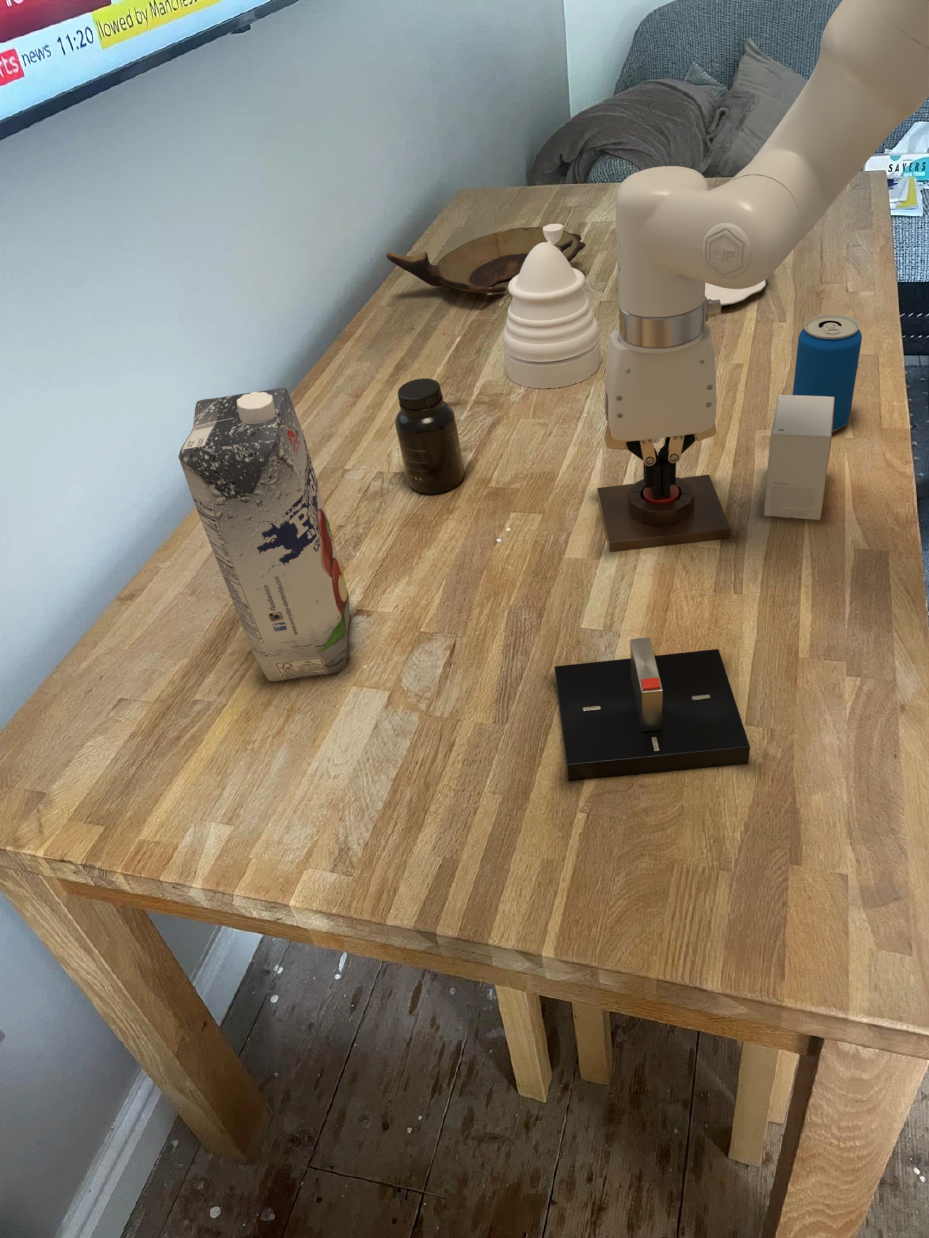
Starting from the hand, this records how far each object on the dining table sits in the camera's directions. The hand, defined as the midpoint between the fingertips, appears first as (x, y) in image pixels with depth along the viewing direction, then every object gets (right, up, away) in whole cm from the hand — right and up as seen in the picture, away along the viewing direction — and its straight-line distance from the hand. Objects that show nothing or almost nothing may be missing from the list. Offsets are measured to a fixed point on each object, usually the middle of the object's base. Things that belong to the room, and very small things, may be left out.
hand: (659, 490), depth 96 cm
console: (-5, -22, -18) cm, 29 cm away
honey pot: (-8, +21, +33) cm, 40 cm away
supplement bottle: (-23, +3, +15) cm, 28 cm away
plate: (+15, +36, +45) cm, 60 cm away
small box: (+15, -1, +2) cm, 15 cm away
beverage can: (+21, +9, +13) cm, 27 cm away
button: (0, -1, +1) cm, 2 cm away
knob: (-5, -20, -20) cm, 29 cm away
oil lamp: (-15, +42, +57) cm, 73 cm away
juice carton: (-35, -17, -5) cm, 39 cm away
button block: (+1, -3, +3) cm, 4 cm away
